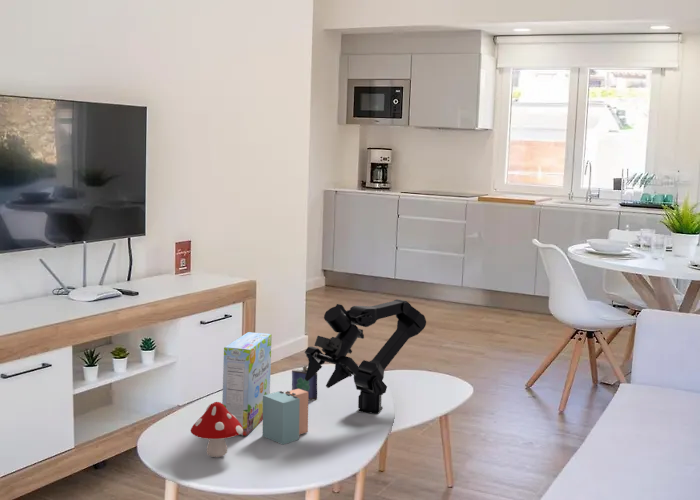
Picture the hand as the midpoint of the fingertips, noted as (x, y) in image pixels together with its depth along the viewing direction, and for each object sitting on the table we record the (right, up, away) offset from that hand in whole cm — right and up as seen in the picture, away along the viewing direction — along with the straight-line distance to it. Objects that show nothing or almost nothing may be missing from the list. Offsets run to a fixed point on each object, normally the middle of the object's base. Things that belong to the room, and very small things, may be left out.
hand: (316, 383), depth 241 cm
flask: (-5, -10, +30) cm, 32 cm away
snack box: (-21, -13, +4) cm, 25 cm away
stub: (-6, -14, -4) cm, 15 cm away
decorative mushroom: (-26, -16, -22) cm, 37 cm away
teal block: (-10, -14, -8) cm, 19 cm away
